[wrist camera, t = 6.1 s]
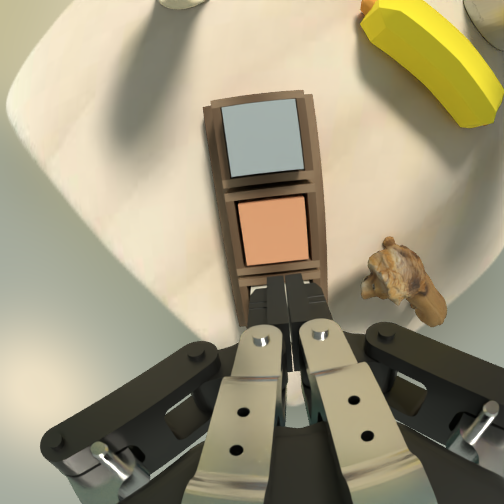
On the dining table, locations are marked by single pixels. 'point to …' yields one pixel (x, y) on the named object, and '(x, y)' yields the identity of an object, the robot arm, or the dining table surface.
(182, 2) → the beer glass
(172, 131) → the dining table surface
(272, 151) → the slate button
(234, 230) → the button board
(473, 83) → the ripe banana
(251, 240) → the terracotta button
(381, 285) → the lion figurine
